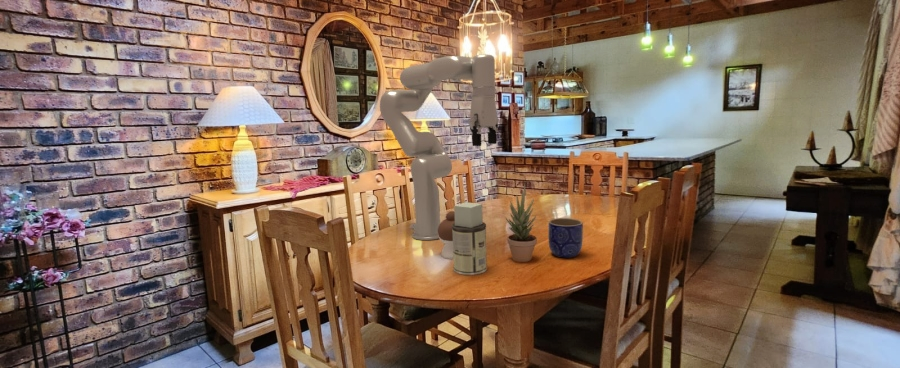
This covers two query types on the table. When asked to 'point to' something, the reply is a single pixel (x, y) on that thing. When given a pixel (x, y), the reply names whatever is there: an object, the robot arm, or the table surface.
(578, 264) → the table surface
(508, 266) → the table surface
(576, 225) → the planter
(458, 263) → the coffee can
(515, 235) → the potted plant
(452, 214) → the figurine
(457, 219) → the sage block
